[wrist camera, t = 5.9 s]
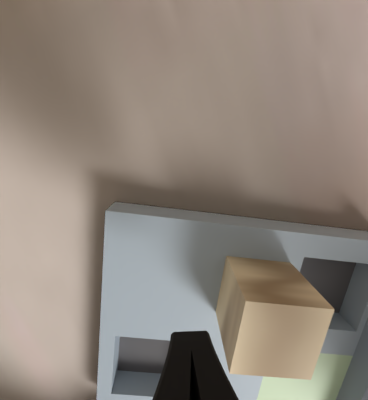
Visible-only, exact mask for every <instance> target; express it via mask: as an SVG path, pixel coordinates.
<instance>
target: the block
mask: <svg viewBox="0 0 368 400" xmlns="http://www.w3.org/2000/svg"><path fill="white" fill-rule="evenodd" d="M334 310H335V309H334V308H333V307H332V306H331V305H330V304H329V303H328V302H327V301H326V300H325V298H324V297H323V296H322V295H321V294H320V293H319V292H318V291H317V290H316V289H315V288H314V287H313V286H312V285H311V284H310V283H309V282H308V281H307V279H306V278H305V277H304V276H303V275H302V274H301V273H300V272H299V271H298V270H297V269H296V268H295V267H294V266H293V265H292V264H291V263H290V262H281V261H271V260H261V259H252V258H242V257H233V256H226V260H225V265H224V270H223V275H222V281H221V286H220V291H219V297H218V302H217V307H216V316H217V321H218V325H219V330H220V334H221V339H222V343H223V348H224V352H225V356H226V361H227V365H228V370H229V374H238V375H252V376H265V377H279V378H292V379H306V380H311V378H312V375H313V372H314V369H315V366H316V364H317V361H318V358H319V355H320V352H321V349H322V346H323V343H324V340H325V337H326V334H327V331H328V328H329V325H330V322H331V319H332V316H333V313H334Z"/></svg>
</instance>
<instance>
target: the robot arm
mask: <svg viewBox="0 0 368 400" xmlns="http://www.w3.org/2000/svg"><path fill="white" fill-rule="evenodd" d="M152 400H239V399H238V397H237V395H236V393H235V391H234V389H233V387H232V385H231V383H230V381H229V379H228V377H227V376H226V373H225V371H224V369H223V367H222V365H221V363H220V361H219V358H218V356H217V354H216V351H215V349H214V346H213V344H212V341H211V338H210V335H209V333H208V332H207V331H183V332H173V333H172V334H171V338H170V344H169V349H168V353H167V357H166V360H165V363H164V367H163V370H162V373H161V376H160V379H159V382H158V385H157V388H156V391H155V394H154V396H153V399H152Z"/></svg>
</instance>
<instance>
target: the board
mask: <svg viewBox="0 0 368 400" xmlns="http://www.w3.org/2000/svg"><path fill="white" fill-rule="evenodd" d="M226 256H233V257H242V258H252V259H261V260H271V261H281V262H290V263H291V264H292V265H293V266H294V267H295V268H296V269H297V270H298V271H299V272H300V273H301V274H302V275H303V276H304V277H305V278H306V279H307V281H308V282H309V283H310V284H311V285H312V286H313V287H314V288H315V289H316V290H317V291H318V292H319V293H320V294H321V295H322V296H323V297H324V298H325V300H326V301H327V302H328V303H329V304H330V305H331V306H332V307H333V308H334V309H335V310H334V313H333V316H332V319H331V322H330V325H329V328H328V331H327V334H326V337H325V340H324V343H323V346H322V349H321V352H320V355H319V358H318V361H317V364H316V366H315V369H314V372H313V375H312V378H311V380H306V379H292V378H279V377H265V376H252V375H238V374H229V370H228V365H227V361H226V356H225V352H224V348H223V343H222V339H221V334H220V330H219V325H218V321H217V316H216V307H217V302H218V297H219V291H220V286H221V281H222V275H223V270H224V265H225V260H226ZM183 331H207V332H208V333H209V335H210V338H211V341H212V344H213V346H214V349H215V351H216V354H217V356H218V358H219V361H220V363H221V365H222V367H223V369H224V371H225V373H226V376H227V377H228V379H229V381H230V383H231V385H232V387H233V389H234V391H235V393H236V395H237V397H238V399H239V400H368V231H362V230H353V229H345V228H336V227H327V226H319V225H310V224H302V223H293V222H285V221H276V220H268V219H259V218H250V217H242V216H233V215H225V214H216V213H208V212H199V211H190V210H182V209H173V208H165V207H156V206H148V205H139V204H130V203H122V202H114V203H113V204H112V205H111V206H110V207H109V208H108V209H107V210H106V211H105V230H104V251H103V272H102V293H101V314H100V335H99V357H98V378H97V399H96V400H152V399H153V396H154V394H155V391H156V388H157V385H158V382H159V379H160V376H161V373H162V370H163V367H164V363H165V360H166V357H167V353H168V349H169V344H170V338H171V334H172V333H173V332H183Z"/></svg>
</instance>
